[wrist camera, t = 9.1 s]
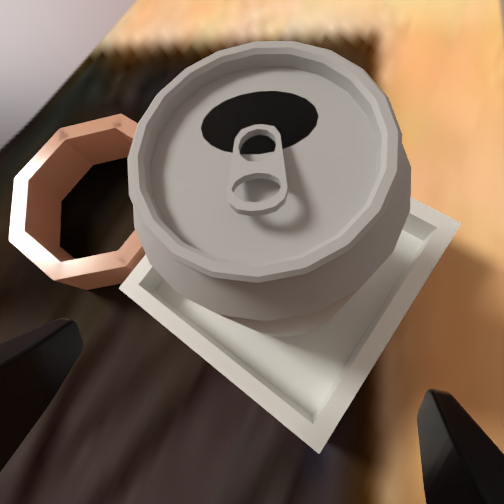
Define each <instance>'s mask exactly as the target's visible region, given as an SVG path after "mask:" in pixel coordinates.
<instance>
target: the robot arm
mask: <svg viewBox="0 0 504 504" xmlns="http://www.w3.org/2000/svg"><path fill="white" fill-rule="evenodd" d="M82 349H83V339H82V335H81V332H80V329H79V326H78V323H77V322H76V321H75V320H71V319H66V318H59V319H57V320H55V321H52V322H50V323H48V324H45V325H43V326H41V327H38V328H36V329H34V330H31V331H29V332H27V333H24V334H22V335H20V336H17V337H15V338H13V339H10V340H8V341H6V342H3V343H1V344H0V472H1V470H2V469H3V468H4V466H5V465H6V463H7V462H8V461H9V459H10V458H11V457H12V455H13V454H14V452H15V451H16V450H17V448H18V447H19V445H20V444H21V443H22V441H23V440H24V439H25V437H26V436H27V434H28V433H29V432H30V430H31V429H32V428H33V426H34V425H35V423H36V422H37V421H38V419H39V418H40V417H41V415H42V414H43V412H44V411H45V410H46V408H47V407H48V405H49V404H50V402H51V401H52V399H53V398H54V396H55V394H56V393H57V391H58V390H59V388H60V386H61V385H62V383H63V381H64V380H65V378H66V376H67V375H68V373H69V371H70V369H71V368H72V366H73V364H74V363H75V361H76V359H77V358H78V356H79V354H80V353H81V351H82ZM417 423H418V433H419V443H420V453H421V463H422V472H423V482H424V491H425V498H426V503H427V504H504V454H503V453H502V452H501V451H500V449H499V448H498V447H497V446H496V445H495V444H494V443H493V441H492V440H491V439H490V438H489V437H488V436H487V435H486V433H485V432H484V431H483V430H482V429H481V428H480V427H479V425H478V424H477V423H476V422H475V421H474V420H473V419H472V417H471V416H470V415H469V414H468V413H467V412H466V411H465V409H464V408H463V407H462V406H461V405H460V404H459V403H458V401H457V400H456V399H455V398H454V397H453V396H452V395H451V394H450V393H448V392H444V391H439V390H434V389H430V390H428V391H427V393H426V395H425V397H424V399H423V402H422V404H421V406H420V409H419V411H418V417H417Z"/></svg>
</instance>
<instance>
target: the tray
mask: <svg viewBox="0 0 504 504" xmlns="http://www.w3.org/2000/svg"><path fill="white" fill-rule="evenodd" d="M460 225H461V223H460V222H458V221H456V220H454V219H452V218H450V217H448V216H446V215H444V214H443V213H441V212H439V211H437V210H435V209H433V208H431V207H429V206H427V205H425V204H423V203H421V202H419V201H417V200H415V199H413V198H411V197H410V212H409V214H408V217H407V219H406V222H405V224H404V227H403V229H402V231H401V234H400V236H399V239H398V241H397V244H396V246H395V249H394V251H393V253H392V254H391V255H390V256H389V257H388V258H387V259H386V260H385V262H384V263H383V264H382V265H381V266H380V267H379V268H378V269H377V270H376V271H375V273H374V274H373V275H372V276H371V277H370V278H369V279H368V280H367V281H366V282H365V284H364V285H363V286H362V287H361V288H360V289H359V290H358V291H357V292H356V293H355V294H354V295H353V296H352V297H351V298H350V300H349V301H348V302H347V303H346V304H345V305H344V306H343V307H342V308H341V309H340V310H339V311H338V312H337V313H336V314H335V315H334V316H333V317H332V318H331V319H330V321H329V322H327V323H326V324H324V325H322V326H320V327H318V328H316V329H315V330H313V331H311V332H309V333H306V334H301V335H295V336H289V337H280V336H273V335H266V334H261V333H259V332H257V331H255V330H252V329H250V328H248V327H245V326H243V325H241V324H239V323H236V322H234V321H232V320H230V319H227V318H225V317H223V316H220V315H218V314H216V313H214V312H212V311H210V310H208V309H206V308H205V307H203V306H201V305H199V304H197V303H195V302H193V301H191V300H189V299H187V298H185V297H183V296H181V295H179V294H178V293H177V292H176V291H175V290H174V289H173V288H172V287H171V286H170V285H169V284H168V283H167V282H166V280H165V279H164V278H163V277H162V276H161V275H160V274H159V273H158V272H157V271H156V270H155V269H154V268H153V266H152V265H151V264H150V263H149V261H148V258H147V256H146V254H145V256H144V257H143V258H142V259H141V261H140V262H139V263H138V265H137V266H136V267H135V268H134V270H133V271H132V272H131V273H130V275H129V276H128V277H127V278H126V280H125V281H124V282H123V283H122V285H121V286H120V287H119V289H120V290H121V291H122V292H124V293H125V294H126V295H127V296H128V297H130V298H131V299H132V300H133V301H134V302H136V303H137V304H138V305H139V306H141V307H142V308H143V309H144V310H145V311H147V312H148V313H149V314H150V315H151V316H153V317H154V318H155V319H156V320H157V321H159V322H160V323H161V324H162V325H164V326H165V327H166V328H167V329H168V330H170V331H171V332H172V333H173V334H174V335H176V336H177V337H178V338H179V339H181V340H182V341H183V342H184V343H185V344H187V345H188V346H189V347H190V348H191V349H193V350H194V351H195V352H196V353H197V354H199V355H200V356H201V357H202V358H204V359H205V360H206V361H207V362H208V363H210V364H211V365H212V366H213V367H214V368H216V369H217V370H218V371H219V372H220V373H222V374H223V375H224V376H225V377H227V378H228V379H229V380H230V381H231V382H233V383H234V384H235V385H236V386H237V387H239V388H240V389H241V390H242V391H243V392H245V393H246V394H247V395H248V396H250V397H251V398H252V399H253V400H254V401H256V402H257V403H258V404H259V405H260V406H262V407H263V408H264V409H265V410H267V411H268V412H269V413H270V414H271V415H273V416H274V417H275V418H276V419H277V420H279V421H280V422H281V423H282V424H283V425H285V426H286V427H287V428H288V429H290V430H291V431H292V432H293V433H294V434H296V435H297V436H298V437H299V438H300V439H302V440H303V441H304V442H305V443H306V444H308V445H309V446H310V447H311V448H313V449H314V450H315V451H316V452H317V453H319V454H320V452H321V450H322V449H323V447H324V446H325V444H326V442H327V441H328V439H329V437H330V436H331V434H332V433H333V431H334V429H335V428H336V426H337V424H338V423H339V421H340V420H341V418H342V416H343V415H344V413H345V412H346V410H347V408H348V407H349V405H350V403H351V402H352V400H353V399H354V397H355V395H356V394H357V392H358V390H359V389H360V387H361V386H362V384H363V382H364V381H365V379H366V377H367V376H368V374H369V373H370V371H371V369H372V368H373V366H374V365H375V363H376V361H377V360H378V358H379V356H380V355H381V353H382V352H383V350H384V348H385V347H386V345H387V343H388V342H389V340H390V339H391V337H392V335H393V334H394V332H395V330H396V329H397V327H398V326H399V324H400V322H401V321H402V319H403V317H404V316H405V314H406V313H407V311H408V309H409V308H410V306H411V305H412V303H413V301H414V300H415V298H416V296H417V295H418V293H419V292H420V290H421V288H422V287H423V285H424V283H425V282H426V280H427V279H428V277H429V275H430V274H431V272H432V270H433V269H434V267H435V266H436V264H437V262H438V261H439V259H440V258H441V256H442V254H443V253H444V251H445V249H446V248H447V246H448V245H449V243H450V241H451V240H452V238H453V236H454V235H455V233H456V232H457V230H458V228H459V227H460Z"/></svg>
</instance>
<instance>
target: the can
mask: <svg viewBox="0 0 504 504" xmlns="http://www.w3.org/2000/svg"><path fill="white" fill-rule="evenodd" d="M127 162H128V183H129V196H130V199H131V201H132V203H133V210H134V227H135V230H136V232H137V235H138V237H139V239H140V242H141V244H142V247H143V249H144V251H145V254H146V256H147V258H148V261H149V263H150V264H151V265H152V266H153V268H154V269H155V270H156V271H157V272H158V273H159V274H160V275H161V276H162V277H163V278H164V279H165V280H166V282H167V283H168V284H169V285H170V286H171V287H172V288H173V289H174V290H175V291H176V292H177V293H178V294H179V295H181V296H183V297H185V298H187V299H189V300H191V301H193V302H195V303H197V304H199V305H201V306H203V307H205V308H206V309H208V310H210V311H212V312H214V313H216V314H218V315H220V316H223V317H225V318H227V319H230V320H232V321H234V322H236V323H239V324H241V325H243V326H245V327H248V328H250V329H252V330H255V331H257V332H259V333H261V334H266V335H273V336H280V337H289V336H295V335H301V334H306V333H309V332H311V331H313V330H315V329H316V328H318V327H320V326H322V325H324V324H326V323H327V322H329V321H330V319H331V318H332V317H333V316H334V315H335V314H336V313H337V312H338V311H339V310H340V309H341V308H342V307H343V306H344V305H345V304H346V303H347V302H348V301H349V300H350V298H351V297H352V296H353V295H354V294H355V293H356V292H357V291H358V290H359V289H360V288H361V287H362V286H363V285H364V284H365V282H366V281H367V280H368V279H369V278H370V277H371V276H372V275H373V274H374V273H375V271H376V270H377V269H378V268H379V267H380V266H381V265H382V264H383V263H384V262H385V260H386V259H387V258H388V257H389V256H390V255H391V254H392V253H393V251H394V249H395V246H396V244H397V241H398V239H399V236H400V234H401V231H402V229H403V227H404V224H405V222H406V219H407V217H408V214H409V212H410V195H411V166H410V163H409V161H408V158H407V155H406V153H405V150H404V147H403V144H402V133H401V130H400V128H399V125H398V122H397V120H396V117H395V114H394V111H393V109H392V106H391V103H390V101H389V98H388V97H387V96H386V94H385V93H384V92H383V91H382V90H381V89H380V88H379V86H378V85H377V84H376V83H375V82H374V81H373V80H372V78H371V77H370V76H369V75H368V74H367V73H366V72H365V71H364V69H362V68H360V67H359V66H357V65H355V64H353V63H352V62H350V61H348V60H346V59H345V58H343V57H341V56H340V55H338V54H336V53H334V52H333V51H331V50H327V49H323V48H319V47H315V46H311V45H307V44H303V43H299V42H295V41H260V42H251V43H248V44H244V45H240V46H236V47H232V48H228V49H224V50H221V51H218V52H216V53H214V54H212V55H210V56H208V57H206V58H204V59H203V60H201V61H199V62H197V63H195V64H193V65H191V66H189V67H188V68H186V69H185V70H183V71H182V72H181V73H180V74H179V75H178V76H177V77H176V78H175V79H173V80H172V81H171V82H170V83H169V84H168V85H167V86H166V87H165V88H163V89H162V90H161V91H160V92H159V93H158V94H157V95H156V97H155V98H154V100H153V101H152V103H151V105H150V106H149V108H148V109H147V111H146V112H145V114H144V115H143V117H142V118H141V120H140V121H139V123H138V125H137V128H136V131H135V135H134V138H133V142H132V145H131V148H130V152H129V155H128V159H127Z"/></svg>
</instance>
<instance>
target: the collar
mask: <svg viewBox="0 0 504 504" xmlns="http://www.w3.org/2000/svg"><path fill="white" fill-rule="evenodd" d="M137 125H138V124H137V123H136V122H134V121H132V120H131V119H129V118H127V117H126V116H124V115H122V114H118V115H114V116H110V117H105V118H101V119H97V120H93V121H89V122H85V123H81V124H76V125H72V126H68V127H64V128H60V129H59V130H58V131H57V132H56V133H55V134H54V135H53V136H52V138H51V139H50V140H49V141H48V142H47V143H46V144H45V145H44V146H43V147H42V148H41V150H40V151H39V152H38V153H37V154H36V155H35V156H34V157H33V158H32V159H31V160H30V161H29V163H28V164H27V165H26V166H25V167H24V168H23V169H22V170H21V171H20V172H19V173H18V175H17V176H16V177H15V178H14V187H13V198H12V209H11V220H10V231H9V241H10V242H11V243H12V244H13V245H14V246H15V247H17V248H18V249H19V250H20V251H21V252H22V253H23V254H24V255H26V256H27V257H28V258H29V259H30V260H31V261H32V262H33V263H35V264H36V265H37V266H38V267H39V268H40V269H41V270H42V271H44V272H45V273H46V274H47V275H48V276H49V277H50V278H51V279H53V280H54V281H58V282H61V283H65V284H68V285H72V286H75V287H79V288H82V289H86V290H90V289H95V288H100V287H105V286H110V285H116V284H121V283H123V282H124V281H125V280H126V278H127V277H128V276H129V275H130V273H131V272H132V271H133V270H134V268H135V267H136V266H137V265H138V263H139V262H140V261H141V259H142V258H143V257H144V256H145V251H144V249H143V247H142V244H141V242H140V239H139V237H138V235H137V232H136V230H135V231H134V232H133V233H132V234H131V236H130V237H129V238H128V239H127V241H126V242H125V243H124V244H123V245H122V247H121V248H120V249H119V250H118V251H114V252H109V253H104V254H99V255H94V256H89V257H84V258H79V259H74V258H73V257H72V256H71V255H70V254H68V253H67V252H66V251H65V250H64V249H62V248H61V247H60V227H61V201H62V200H63V199H64V198H65V197H66V195H67V194H68V193H69V192H70V191H71V190H72V189H73V187H74V186H75V185H76V184H77V183H78V182H79V181H80V179H81V178H82V177H83V176H84V175H85V174H86V173H87V171H88V170H89V169H90V168H91V167H92V166H93V165H95V164H99V163H104V162H108V161H113V160H117V159H121V158H126V157H128V155H129V152H130V148H131V145H132V142H133V138H134V135H135V131H136V128H137Z"/></svg>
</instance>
